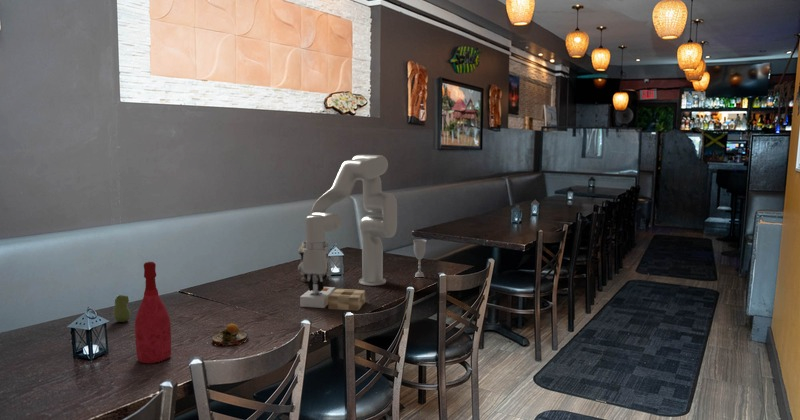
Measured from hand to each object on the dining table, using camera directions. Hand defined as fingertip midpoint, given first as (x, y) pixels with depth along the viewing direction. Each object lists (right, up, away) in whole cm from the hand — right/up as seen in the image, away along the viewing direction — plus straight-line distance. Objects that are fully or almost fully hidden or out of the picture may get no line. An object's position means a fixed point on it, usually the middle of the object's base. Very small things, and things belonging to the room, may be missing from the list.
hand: (316, 289), depth 227 cm
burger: (-23, -11, -41) cm, 48 cm away
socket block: (+1, -5, +5) cm, 7 cm away
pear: (-67, -9, -23) cm, 71 cm away
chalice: (+44, 0, +46) cm, 63 cm away
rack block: (+13, -6, -2) cm, 14 cm away
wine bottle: (-41, -13, -57) cm, 71 cm away
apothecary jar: (-8, -1, +39) cm, 40 cm away
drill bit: (0, -6, +1) cm, 6 cm away
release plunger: (+2, -4, +9) cm, 10 cm away
